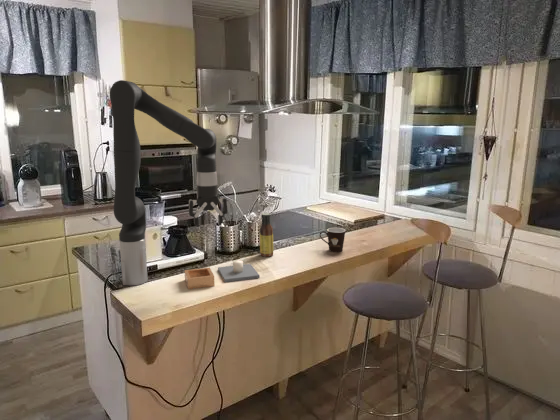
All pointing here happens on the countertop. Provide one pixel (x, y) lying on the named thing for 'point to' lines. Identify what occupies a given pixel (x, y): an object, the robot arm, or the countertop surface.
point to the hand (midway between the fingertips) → (208, 225)
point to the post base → (237, 276)
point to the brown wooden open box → (199, 278)
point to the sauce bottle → (266, 236)
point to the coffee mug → (335, 239)
